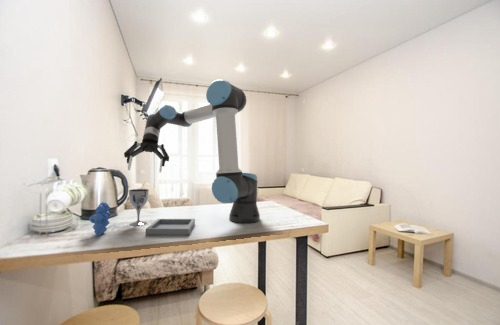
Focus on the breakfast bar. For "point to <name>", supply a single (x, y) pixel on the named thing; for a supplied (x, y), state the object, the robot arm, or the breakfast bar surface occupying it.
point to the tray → (170, 227)
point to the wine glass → (138, 203)
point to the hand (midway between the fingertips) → (144, 169)
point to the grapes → (100, 218)
